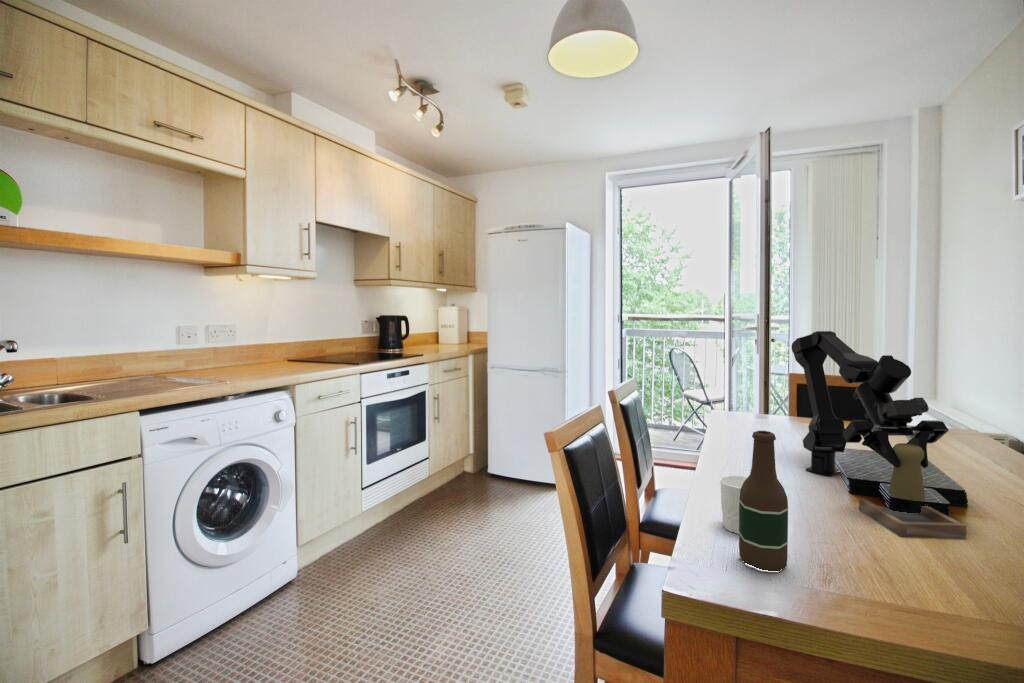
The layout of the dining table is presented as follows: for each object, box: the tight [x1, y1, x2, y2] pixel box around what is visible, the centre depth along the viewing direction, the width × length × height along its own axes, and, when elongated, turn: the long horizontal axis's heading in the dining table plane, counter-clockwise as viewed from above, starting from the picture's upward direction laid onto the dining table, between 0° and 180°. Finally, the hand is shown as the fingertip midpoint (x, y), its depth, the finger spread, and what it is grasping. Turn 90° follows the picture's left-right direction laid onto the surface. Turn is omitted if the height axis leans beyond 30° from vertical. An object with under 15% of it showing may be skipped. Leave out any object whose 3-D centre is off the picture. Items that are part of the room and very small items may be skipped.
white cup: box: [719, 475, 748, 535], centre depth 99 cm, size 8×8×10 cm
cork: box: [888, 442, 926, 502], centre depth 100 cm, size 6×6×11 cm
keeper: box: [858, 498, 967, 540], centre depth 100 cm, size 13×12×3 cm
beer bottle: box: [738, 430, 789, 572], centre depth 85 cm, size 8×8×24 cm
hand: (912, 467), depth 99 cm, fingers closed on cork, 5 cm apart
